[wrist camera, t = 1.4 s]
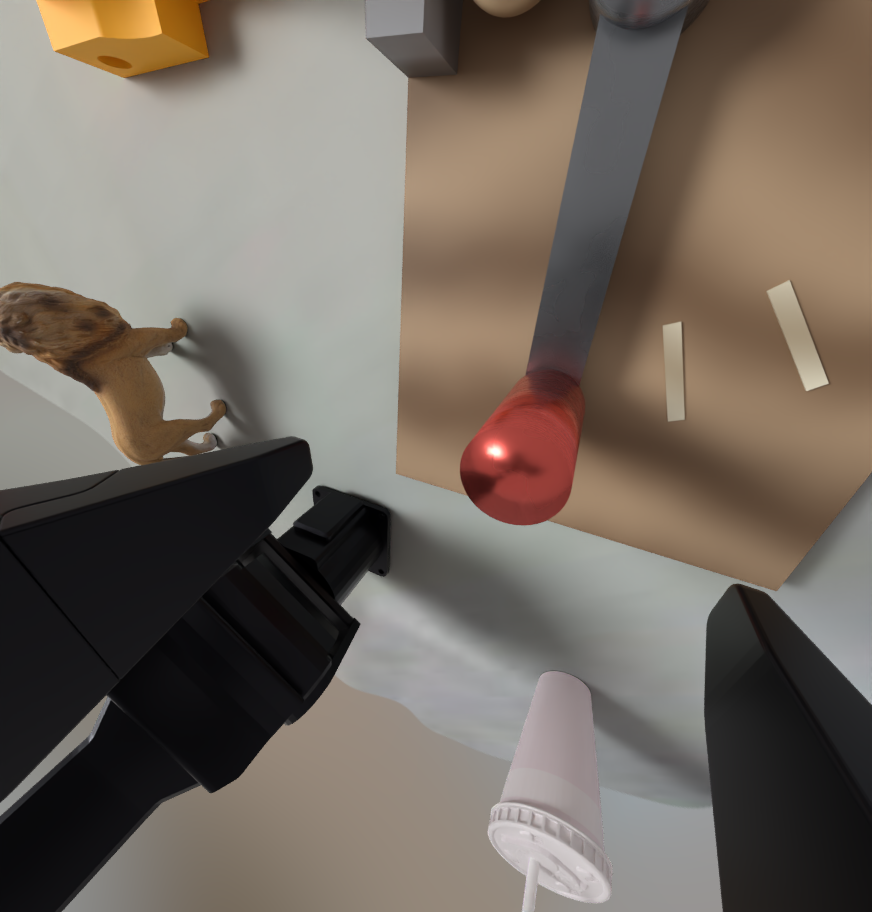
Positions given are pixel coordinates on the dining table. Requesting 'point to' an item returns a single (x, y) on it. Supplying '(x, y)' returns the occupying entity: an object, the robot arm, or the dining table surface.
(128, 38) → the pipe clamp
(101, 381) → the lion figurine
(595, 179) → the lever
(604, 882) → the smoothie
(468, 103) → the press board
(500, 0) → the tan rounded piece
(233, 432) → the dining table surface
